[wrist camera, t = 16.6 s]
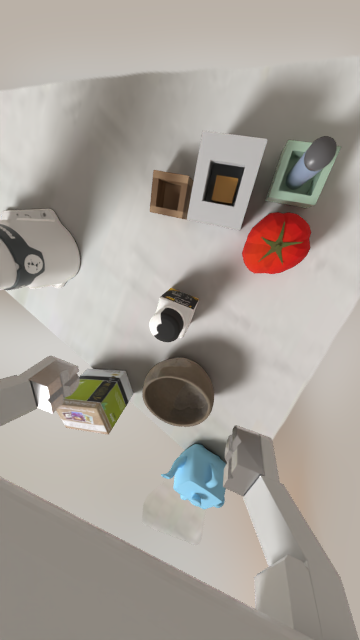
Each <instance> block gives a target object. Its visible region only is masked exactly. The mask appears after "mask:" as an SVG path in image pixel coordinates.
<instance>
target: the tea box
mask: <svg viewBox="0 0 360 640" xmlns="http://www.w3.org/2000/svg"><path fill="white" fill-rule="evenodd" d="M79 379H80V382H79V386H78V387H77V389H76V391H75V392H74V393H73V394H72V395H71V396H68V397H65V399H64V403H63V404H62V405H61V406H60V407H59V408H58V409H57V410H56V411H57V412H58V414H59V416H60V418H61V419H62V421H63V423H64V424H65V426H66V428H71V429H78V430H84V431H90V432H96V433H103V434H109V433H110V431H111V430H112V428H113V426H114V425H115V423H116V422H117V420H118V418H119V417H120V415H121V413H122V412H123V410H124V408H125V407H126V405H127V404H128V402H129V400H130V399H131V397H132V395H133V391H132V388H131V385H130V382H129V379H128V376H127V373H126V371H120V370H100V369H87V370H86V371H85V372H84V373H83V374H82V375H81V376H80V377H79Z"/></svg>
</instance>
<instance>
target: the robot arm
mask: <svg viewBox="0 0 360 640" xmlns="http://www.w3.org/2000/svg"><path fill="white" fill-rule="evenodd" d="M79 266H80V256H79V251H78V247H77V245H76V242H75V240H74V239H73V237H72V235H71V234H70V233H69V231H68V230H67V229H66V228H65V227H64V226H63V225H62V224H61V223H60V221H59V219H58V217H57V216H56V214H55V212H54V211H53V210H52V209H30V210H6V211H2V214H1V220H0V290H12V289H19V288H22V287H25V286H27V287H29V288H31V289H38V288H43V287H47V286H54V287H56V288H62V287H63V286H64V285H65V283H66V282H67V281H68V280H70V279H72V278H73V277H74V276H75V275H76V274H77V272H78V270H79ZM78 371H79V369H78V366H76V365H73V364H71V363H68V362H66V361H64V360H61V359H59V358H56V357H53V356H49V357H46V358H45V359H43V360H42V361H40V362H39V363H38V364H36V365H34V366H33V367H31V368H30V369H28V370H27V371H25V372H24V373H22V374H20V375H19V376H17V375H14V376H10V377H7V378H3V379H0V426H2V425H4V424H6V423H8V422H10V421H12V420H14V419H16V418H18V417H21V416H23V415H25V414H27V413H29V412H31V411H33V410H35V409H37V408H40V409H42V410H45V411H47V412H50V413H54V411H56V410H57V409H58V408H59V407H60V406H61V405H62V404H63V403H64V399H65V397H68V396H71V395H72V394H73V393H74V392H75V391H76V389H77V387H78V386H79V382H80V379H79V376H78V375H77V372H78ZM225 460H226V462H227V464H226V466H225V468H224V476H223V487H224V488H226V489H228V490H231V491H233V492H235V493H237V494H239V495H241V496H244V497H243V499H244V501H245V504H246V507H247V510H248V512H249V515H250V518H251V520H252V523H253V526H254V528H255V531H256V534H257V536H258V539H259V541H260V544H261V546H262V550H263V552H264V555H265V558H266V560H267V563H268V566H269V567H268V568H266V569H265V570H263V571H262V572H260V573H258V574H257V575H256V576H255V577H254V580H255V604H256V609H254V608H252V607H250V606H248V605H247V604H245V603H243V602H241V601H239V600H237V599H235V598H233V597H231V596H229V595H227V594H225V593H224V592H222V591H220V590H218V589H216V588H214V587H212V586H210V585H208V584H206V583H204V582H202V581H200V580H198V579H197V578H195V577H193V576H191V575H189V574H187V573H185V572H183V571H181V570H179V569H177V568H175V567H173V566H172V565H170V564H168V563H166V562H164V561H162V560H160V559H158V558H156V557H154V556H152V555H150V554H148V553H147V552H145V551H143V550H141V549H139V548H137V547H135V546H133V545H131V544H129V543H127V542H125V541H123V540H122V539H119V538H118V537H116V536H114V535H112V534H110V533H108V532H106V531H104V530H102V529H100V528H98V527H97V526H94V525H92V524H90V523H89V522H87V521H85V520H83V519H81V518H79V517H77V516H75V515H73V514H72V513H70V512H68V511H66V510H64V509H62V508H60V507H58V506H56V505H54V504H52V503H50V502H48V501H46V500H44V499H43V498H41V497H39V496H37V495H35V494H33V493H31V492H29V491H27V490H25V489H23V488H22V487H20V486H18V485H15V484H14V483H12V482H10V481H8V480H6V479H4V478H2V477H0V640H359V638H358V635H357V631H356V628H355V625H354V621H353V618H352V614H351V611H350V608H349V604H348V601H347V597H346V594H345V591H344V587H343V584H342V581H341V577H340V576H339V574H338V572H337V571H336V569H335V568H334V566H333V564H332V563H331V561H330V559H329V558H328V556H327V555H326V553H325V551H324V550H323V548H322V547H321V545H320V543H319V542H318V540H317V538H316V537H315V535H314V533H313V532H312V530H311V528H310V527H309V525H308V524H307V522H306V520H305V519H304V517H303V515H302V514H301V512H300V511H299V509H298V507H297V505H296V504H295V502H294V501H293V499H292V497H291V496H290V494H289V492H288V491H287V489H286V488H285V486H284V484H282V483H280V482H279V476H278V470H277V464H276V458H275V453H274V446H273V441H272V439H271V438H270V437H267V436H264V435H261V434H258V433H257V432H254V431H251V430H248V429H246V428H243V427H240V426H237V425H236V426H234V428H233V434H232V435H230V436H229V438H228V440H227V443H226V448H225Z"/></svg>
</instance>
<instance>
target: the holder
mask: <svg viewBox="0 0 360 640" xmlns="http://www.w3.org/2000/svg"><path fill="white" fill-rule="evenodd" d="M192 187H193V180H192V179H191V178H190V177H189V176H186V175H180V174H175V173H169V172H163V171H157V170H154V172H153V182H152V193H151V203H150V212H153V213H158V214H163V215H167V216H172V217H177V218H182V219H186V220H187V215H188V209H189V204H190V198H191V193H192Z"/></svg>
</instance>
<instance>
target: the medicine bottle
mask: <svg viewBox="0 0 360 640" xmlns="http://www.w3.org/2000/svg"><path fill="white" fill-rule="evenodd" d="M198 302H199V299H198V298H196V297H193V296H191V295H188V294H185V293H183V292H180V291H178V290H175V289H173V288H170V289H169V290H168V291H167V292H166V293H164V294H163V295H162V296H161V297H160V299H159V302H158V306H157V310H156V314H155V315H154V316H153V317H152V318H151V320H150V323H149V327H150V330H151V333H152V334H153V335H154V336H155V337H156V338H157V339H158V340H160V341H163V342H171V341H174V340H176V339H177V338H178V337H180V338H183V337H184V335H185V333H186V331H187V329H188V327H189V325H190V323H191V320H192V318H193V315H194V312H195V310H196V307H197V304H198Z"/></svg>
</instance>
